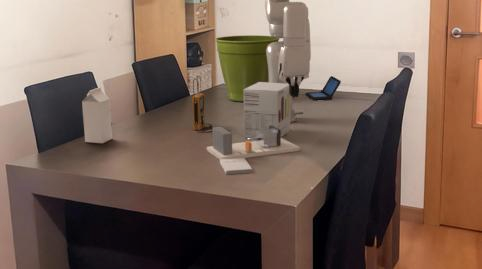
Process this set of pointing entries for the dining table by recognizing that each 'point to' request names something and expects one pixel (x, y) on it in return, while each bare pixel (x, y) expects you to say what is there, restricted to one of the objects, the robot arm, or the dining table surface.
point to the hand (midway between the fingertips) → (294, 96)
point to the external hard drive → (235, 166)
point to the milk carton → (97, 117)
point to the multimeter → (198, 110)
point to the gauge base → (243, 146)
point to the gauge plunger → (267, 137)
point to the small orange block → (248, 146)
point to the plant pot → (243, 62)
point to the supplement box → (266, 108)
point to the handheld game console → (325, 90)
